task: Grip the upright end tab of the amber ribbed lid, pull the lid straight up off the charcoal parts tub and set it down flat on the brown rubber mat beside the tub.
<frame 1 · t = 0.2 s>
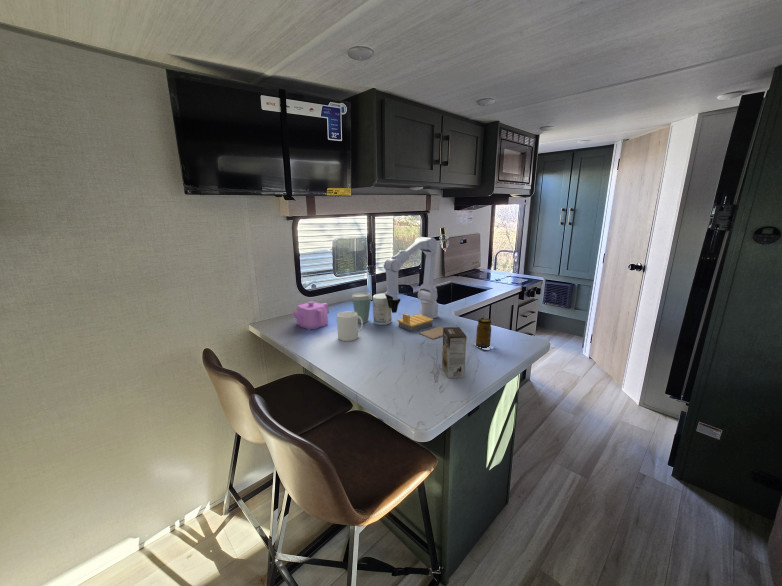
hand: (392, 310, 164), 10 cm above the table, fingers open, 7 cm apart
disposable coffee cup: (362, 321, 178), on the table
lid: (415, 322, 169), point 2 cm above the table, touching parts tub
mug: (350, 337, 156), on the table
condiment: (483, 346, 144), on the table
coffee box: (452, 372, 123), on the table
supplement tub: (382, 322, 175), on the table
parts tub: (415, 325, 170), on the table
mat: (436, 333, 160), on the table
teakettle: (311, 325, 173), on the table
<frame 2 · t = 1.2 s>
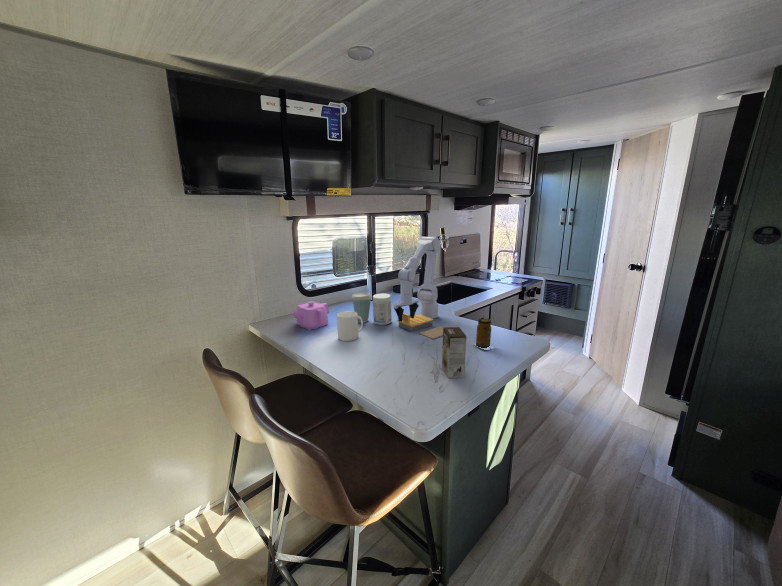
hand: (406, 319, 165), 5 cm above the table, fingers open, 7 cm apart
nothing on the table moved.
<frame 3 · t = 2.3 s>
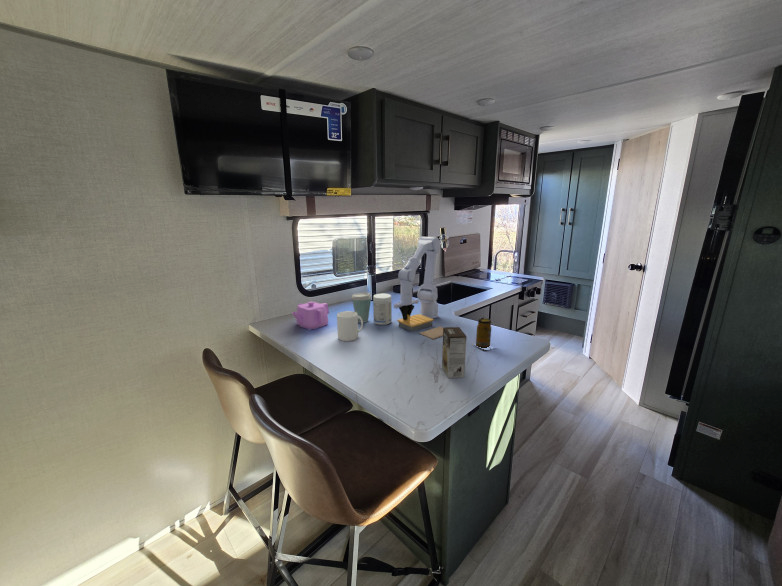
hand: (406, 319, 165), 5 cm above the table, fingers closed on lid
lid: (415, 322, 169), point 2 cm above the table, touching gripper, parts tub
everything else where it was.
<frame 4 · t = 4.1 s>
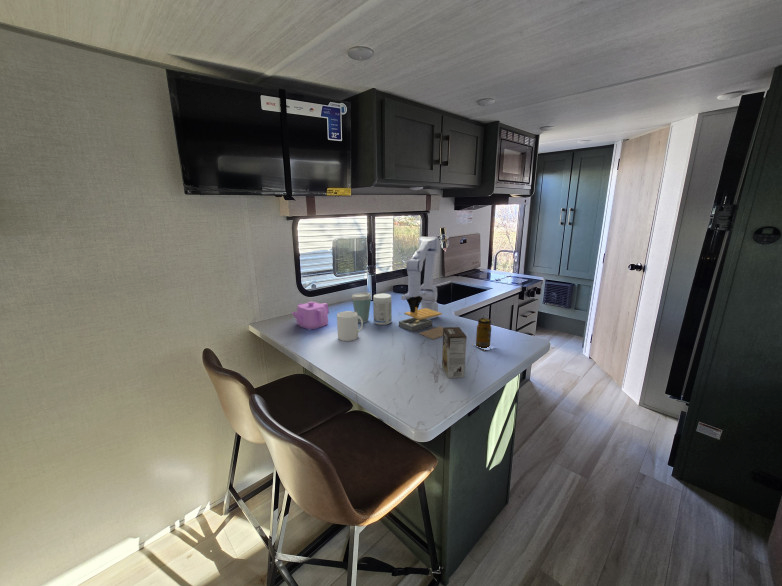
hand: (414, 311, 160), 10 cm above the table, fingers closed on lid
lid: (423, 315, 164), point 7 cm above the table, touching gripper
everything else where it was.
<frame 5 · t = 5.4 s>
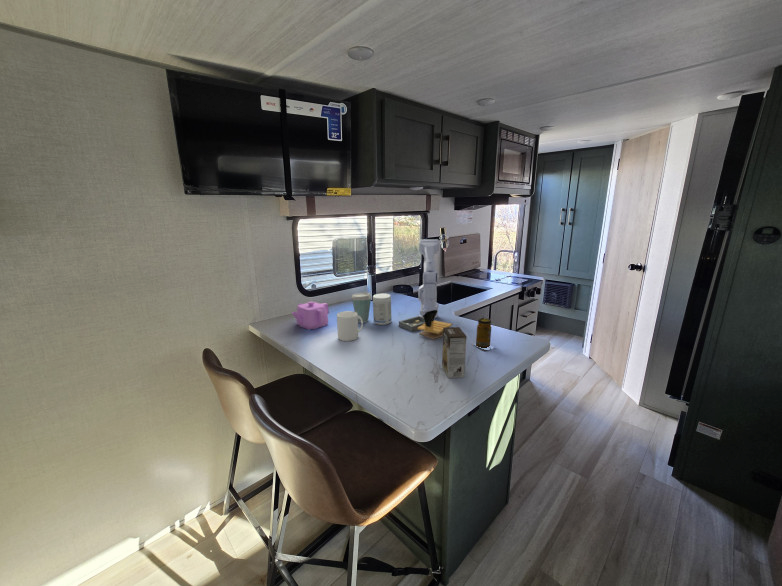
hand: (429, 325, 154), 6 cm above the table, fingers closed on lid
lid: (434, 328, 160), point 2 cm above the table, touching gripper
everything else where it was.
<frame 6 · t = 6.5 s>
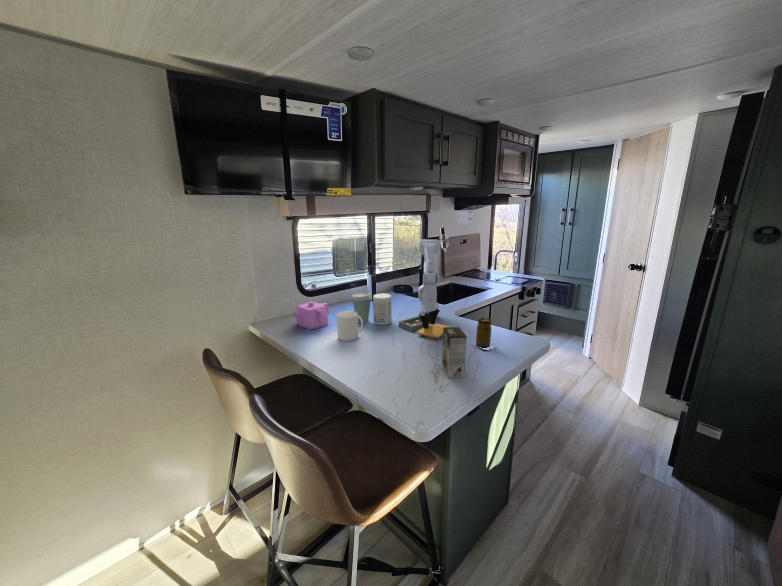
hand: (429, 326, 154), 5 cm above the table, fingers open, 6 cm apart
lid: (434, 332, 160), resting on mat
everything else where it was.
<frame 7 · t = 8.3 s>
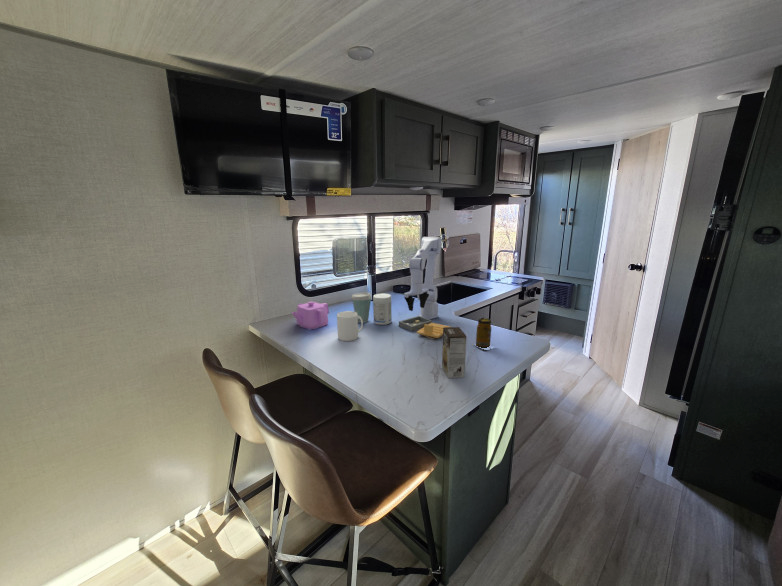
hand: (416, 308, 164), 10 cm above the table, fingers open, 7 cm apart
nothing on the table moved.
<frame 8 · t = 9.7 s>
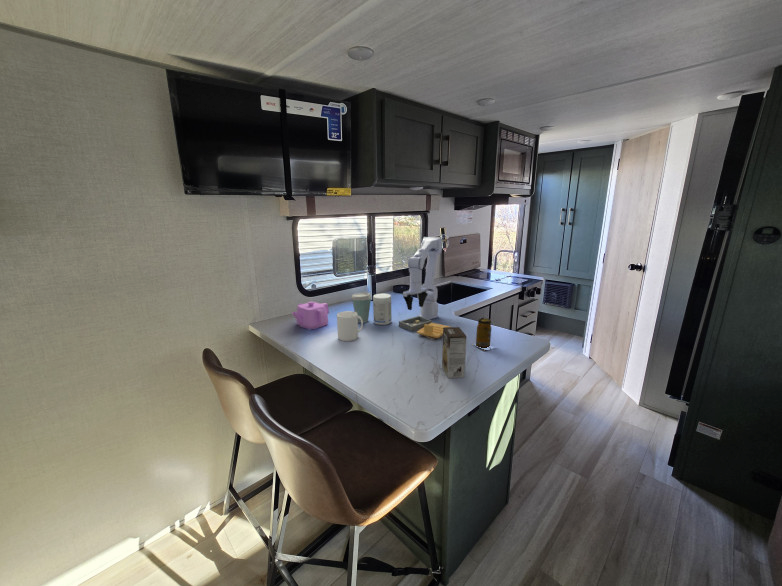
hand: (415, 308, 165), 10 cm above the table, fingers open, 7 cm apart
nothing on the table moved.
at the end: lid inside the target area on the mat (1.0 cm from its centre), point 0.5 cm above the mat's base; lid touching mat; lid tilted 0° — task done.
